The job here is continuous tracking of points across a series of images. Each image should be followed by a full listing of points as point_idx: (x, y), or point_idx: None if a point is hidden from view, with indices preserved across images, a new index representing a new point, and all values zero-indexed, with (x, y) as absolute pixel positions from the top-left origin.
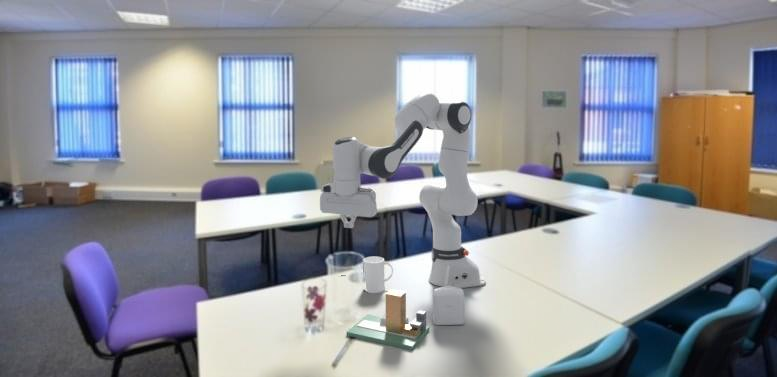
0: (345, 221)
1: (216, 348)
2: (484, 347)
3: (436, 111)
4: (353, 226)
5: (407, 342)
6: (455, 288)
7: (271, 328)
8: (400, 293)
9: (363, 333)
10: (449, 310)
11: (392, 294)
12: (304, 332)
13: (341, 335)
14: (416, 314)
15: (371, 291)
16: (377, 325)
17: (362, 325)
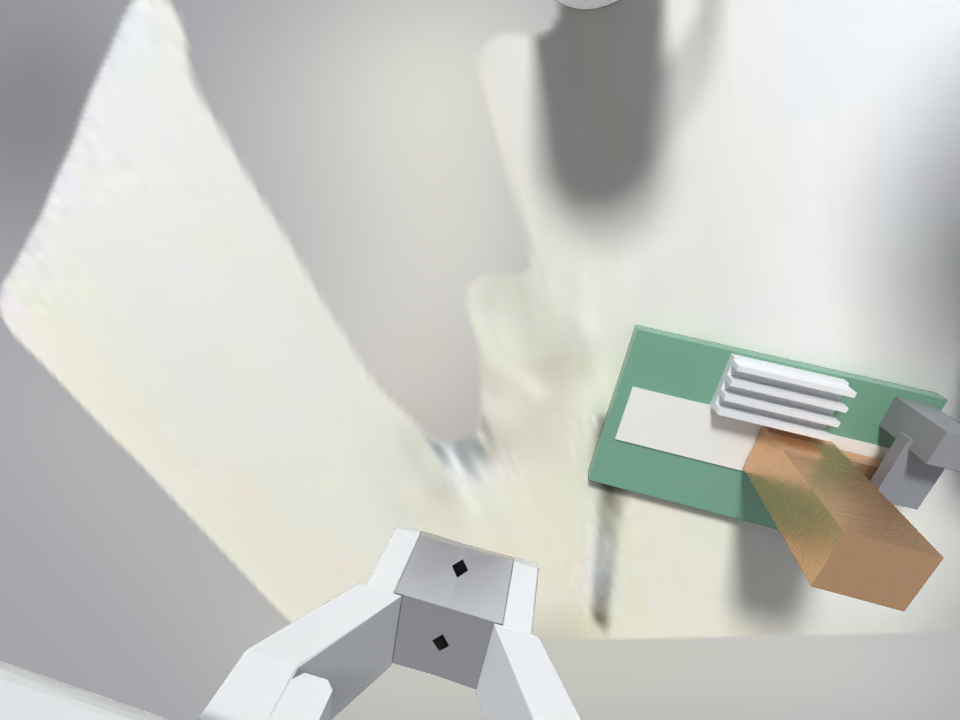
0: (379, 661)
1: (266, 567)
2: None
3: None
4: (536, 579)
5: None
6: None
7: (327, 456)
8: (905, 579)
9: (654, 485)
10: None
11: (854, 592)
12: (440, 468)
13: (569, 473)
14: (922, 460)
15: (592, 4)
16: (700, 427)
17: (638, 434)
